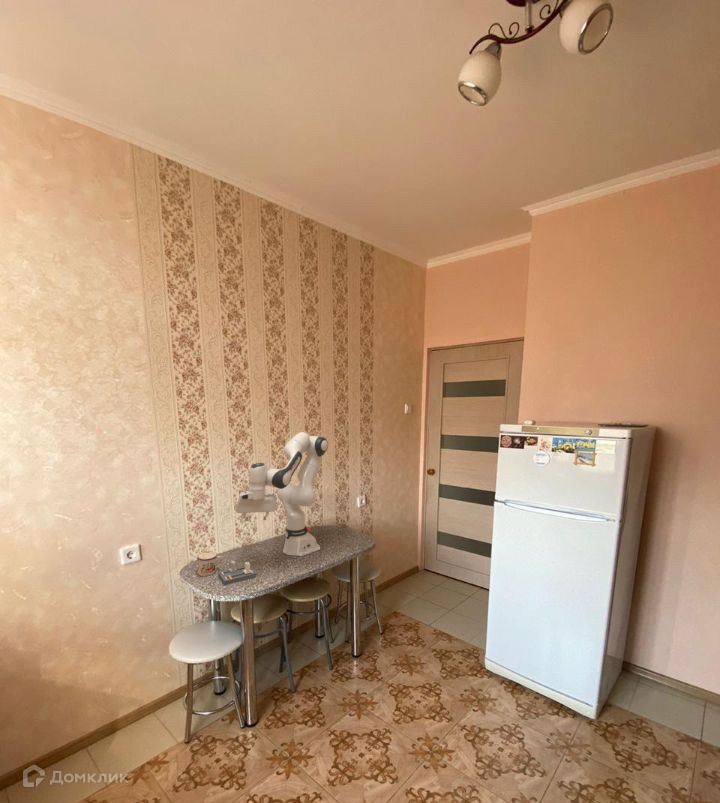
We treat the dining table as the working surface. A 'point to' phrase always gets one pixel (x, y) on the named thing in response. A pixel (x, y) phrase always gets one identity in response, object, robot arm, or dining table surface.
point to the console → (235, 574)
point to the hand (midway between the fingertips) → (255, 520)
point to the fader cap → (247, 568)
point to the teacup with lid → (207, 563)
